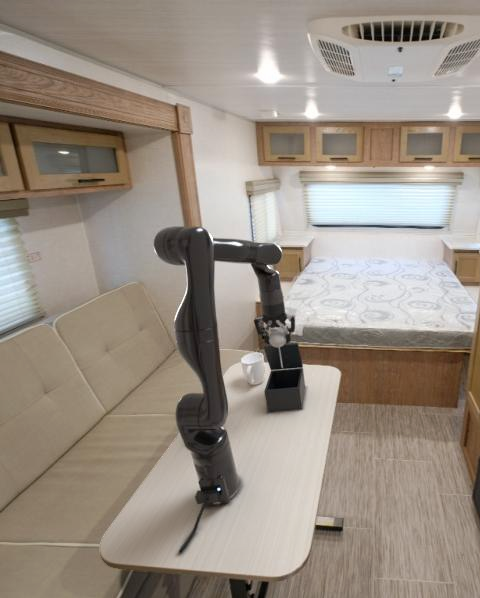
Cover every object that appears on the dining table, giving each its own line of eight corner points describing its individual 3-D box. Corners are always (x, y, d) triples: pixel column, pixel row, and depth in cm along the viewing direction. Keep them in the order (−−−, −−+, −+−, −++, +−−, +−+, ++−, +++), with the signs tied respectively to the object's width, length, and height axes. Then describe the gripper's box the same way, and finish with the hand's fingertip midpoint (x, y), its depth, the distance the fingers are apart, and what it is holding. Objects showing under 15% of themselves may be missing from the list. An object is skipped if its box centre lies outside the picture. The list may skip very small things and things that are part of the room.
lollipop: (293, 363, 130) (288, 328, 125) (286, 372, 125) (281, 336, 119) (277, 362, 131) (272, 327, 125) (270, 371, 125) (264, 335, 120)
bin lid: (297, 344, 130) (298, 334, 134) (263, 346, 128) (265, 336, 132) (302, 367, 139) (303, 358, 143) (270, 370, 137) (272, 360, 141)
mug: (249, 376, 151) (244, 352, 146) (269, 374, 152) (265, 351, 147) (240, 392, 140) (235, 368, 135) (262, 391, 141) (258, 366, 136)
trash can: (302, 409, 131) (299, 388, 127) (268, 412, 129) (264, 391, 125) (305, 387, 143) (303, 367, 140) (274, 390, 141) (271, 370, 138)
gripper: (247, 305, 113) (255, 349, 119) (292, 303, 115) (297, 346, 122) (252, 297, 120) (260, 339, 126) (295, 295, 122) (300, 336, 128)
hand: (278, 342), depth 124 cm, fingers closed on lollipop, 6 cm apart
